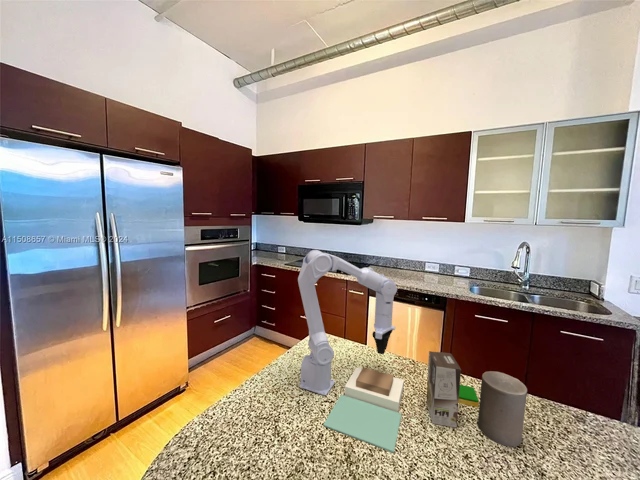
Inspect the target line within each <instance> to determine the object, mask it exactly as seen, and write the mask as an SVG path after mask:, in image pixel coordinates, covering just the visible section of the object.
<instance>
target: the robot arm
mask: <svg viewBox="0 0 640 480" xmlns="http://www.w3.org/2000/svg"><path fill="white" fill-rule="evenodd" d="M337 270H339V271H342V272H344V273H346V274H347V275H350V276H353V277H355V278H356V281H357V283H358V284H360V285H362V286H365V287H366V288H367V289H371V290H372V291H375V309H374V324H373V328H374V331H372V334H371V335H372V337H373V340H374V341H375V342H374V343H375V345H376V346H375V347H376V352H377V354H379V355H380V354H381V355H384V354H385V351H386V350H387V347H388V344H389V339H390V338H391V334H392V333H393V331H395V330H396V326H395V325H393V312H394V311H393V309H394V307H393V305H394V297H395V295H396V293H397V291H398V287H397V285H396V283H395V281H394V280H392V279H390V278H388V277H385V274H383V273H380V274H379V273H378V272H376V271H374V268H372V267H370V266H369V267H362V268H359V267H358V266H356V265H353V264H352V263H350V262H349V261H346V260H344V259H343V258H341V257H338V256H336V255H332V254H330V253H327V252H322V251H320V250H319V249H313V250H310V251H309V252H307V254H306V255H305V256H304V258H303V259H302V265H301V267H300V271H299V275H298V277H297V282H298V287H299V292H300V296H301V301H302V305H303V310H304V314H305V318H306V319H305V320H306V323H307V327H308V336H309V337H308V338H309V339H308V343H307V344H308V348H309V350H310V354H306V355H304V357H303V359H302V361H301V365H300V384H299V388H300V389H303V390H307V391H310V392H313V393H316V394H318V395H322V396H327V395H328V394H329V392H330V391H331V389H332V387H333V386H334V384H335V383H336V381H335V380H334V379H331V378H332V377H331V376H332V361H333V359H334V357H335V351H334V349H333V347H332V346H331V345H330V341H329V339H328V336H327V334H326V331H325V325H324V322H323V318H322V313H321V307H320V305H319V304H320V302H319V300H318V294H317V291H316V283H317V282H318V281H319V279H320V278H322V277H323V276H324V275H326V274H327V273H328V272H330V271H331V272H334V271H337Z"/></svg>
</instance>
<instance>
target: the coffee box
mask: <svg viewBox="0 0 640 480" xmlns="http://www.w3.org/2000/svg"><path fill="white" fill-rule="evenodd" d="M427 365H428V366H427V378H428V381H427V380H426V406H427V409H428V412H429V415H430V418H431V419H430V420H431V422H432V424H434V425H441V426H446V427H452V428H457V427H458V418H459V417H458V415H459V414H458V413H459V404H460V403H459V390H460V385H461V376H462V375H461V373H462V369H461V367H460V365H459V363H458V362H457V361H456V359H455V357H454V356H453V354H452V353H449V352H441V351H428V364H427Z"/></svg>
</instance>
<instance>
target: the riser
mask: <svg viewBox="0 0 640 480" xmlns="http://www.w3.org/2000/svg"><path fill="white" fill-rule="evenodd" d="M361 370H362V368H360V367H355V369H354V370H353V372H352V374H351V376H350V377H349V379H348V381H347V383H346V384H345V385H344V396H347V397H350V398H354V399H357V400H360V401H363V402H366V403H369V404H373V405H376V406H379V407H382V408H385V409H388V410H392V411H395V412H398V413H399V410H400V407H401V400H402V397H403V393H404V385H405V384H404V383H405V379H402V378H398V377H394V376H393V384H392V387H391V391H390V394H389V396H386V395H383V394H379V393H376V392H373V391H369V390H366V389H362V388H359V387H356V379H357V378H358V376H359V374H360V372H361Z"/></svg>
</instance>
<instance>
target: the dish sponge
mask: <svg viewBox="0 0 640 480" xmlns="http://www.w3.org/2000/svg"><path fill="white" fill-rule="evenodd" d="M427 381H428V377H427V379H426V382H427ZM458 404H462V405H467V406H470V407H475V408H479V405H480V399H479V397H478V395H477V391H476V390H475V388H474V387H473V386H468V385H465V384H464V385H463V384H460V390H459V403H458Z"/></svg>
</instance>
